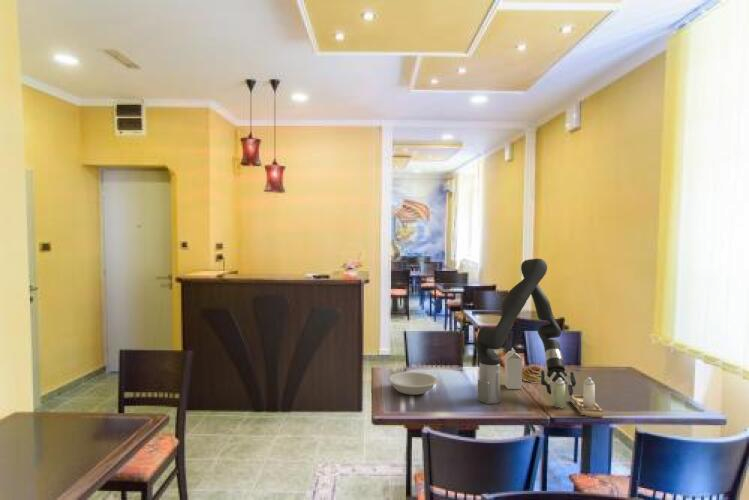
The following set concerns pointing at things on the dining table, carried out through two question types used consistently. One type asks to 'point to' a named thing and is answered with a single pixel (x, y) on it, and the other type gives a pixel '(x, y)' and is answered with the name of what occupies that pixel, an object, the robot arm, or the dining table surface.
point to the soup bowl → (412, 382)
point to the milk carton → (513, 370)
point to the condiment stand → (578, 403)
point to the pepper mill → (559, 393)
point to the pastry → (532, 373)
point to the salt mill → (589, 394)
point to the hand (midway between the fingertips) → (560, 394)
